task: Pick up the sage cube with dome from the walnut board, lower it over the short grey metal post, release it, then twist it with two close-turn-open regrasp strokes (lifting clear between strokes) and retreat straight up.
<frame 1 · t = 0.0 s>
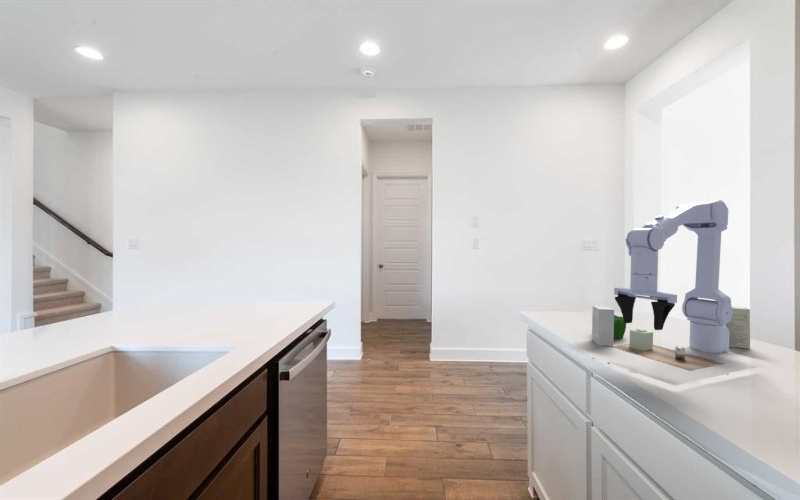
hand: (642, 326, 88), 10 cm above the counter, tool pointing down, fingers open, 7 cm apart
sage cube with dome: (640, 348, 98), point 1 cm above the counter, touching board
skincare box 2: (733, 346, 106), on the counter
bell pepper: (610, 340, 111), on the counter
board: (663, 358, 93), on the counter
post: (679, 363, 89), resting on board
skincare box: (602, 347, 104), on the counter
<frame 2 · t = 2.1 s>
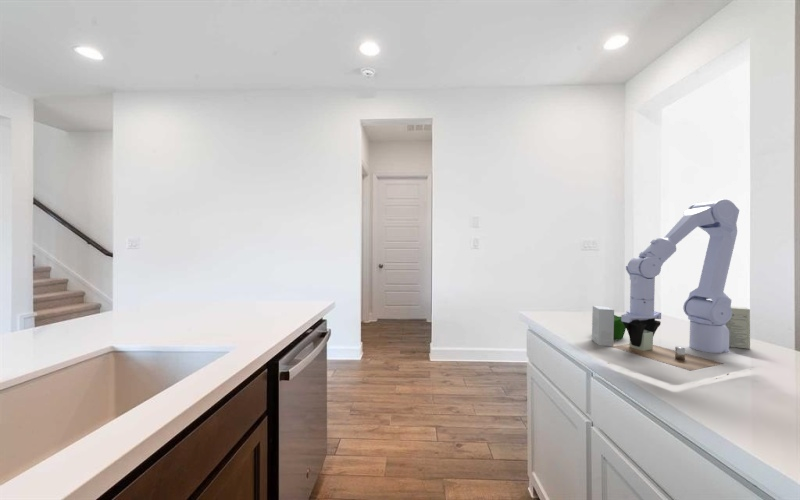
hand: (641, 345, 98), 2 cm above the counter, tool pointing down, fingers closed on sage cube with dome, 4 cm apart
sage cube with dome: (640, 348, 98), point 1 cm above the counter, touching board, gripper
everything else where it was.
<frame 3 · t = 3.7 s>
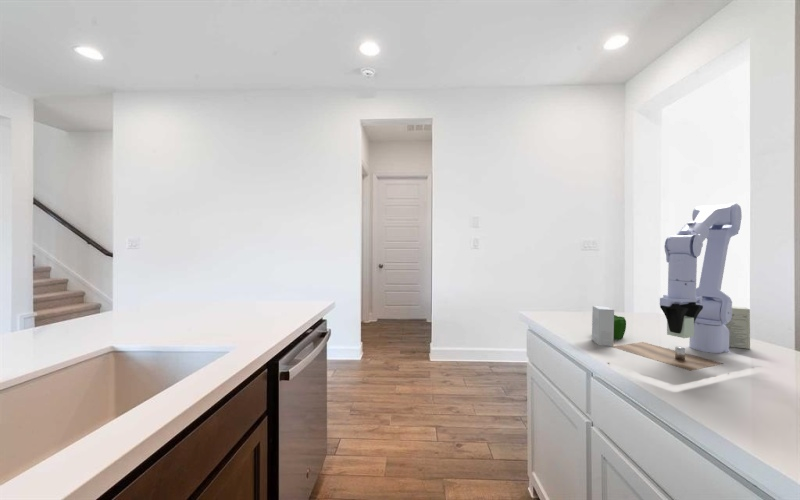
hand: (680, 331, 89), 8 cm above the counter, tool pointing down, fingers closed on sage cube with dome, 4 cm apart
sage cube with dome: (680, 335, 89), point 7 cm above the counter, touching gripper
everything else where it was.
when the fingers open (3 cm above the counter, at t = 5.3 s): sage cube with dome stays where it is, resting on board.
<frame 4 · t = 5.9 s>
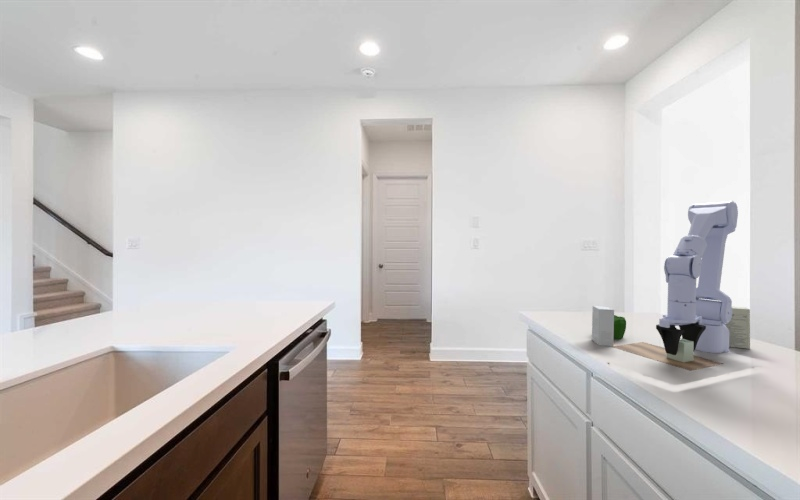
hand: (680, 352, 89), 3 cm above the counter, tool pointing down, fingers open, 7 cm apart
sage cube with dome: (679, 358, 89), point 1 cm above the counter, touching board
everything else where it was.
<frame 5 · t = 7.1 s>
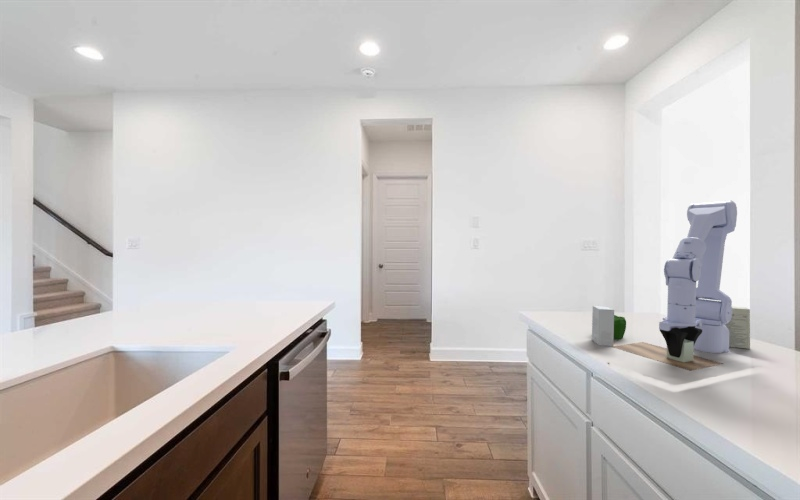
hand: (680, 355, 89), 2 cm above the counter, tool pointing down, fingers closed on sage cube with dome, 4 cm apart
sage cube with dome: (679, 358, 89), point 1 cm above the counter, touching board, gripper
everything else where it was.
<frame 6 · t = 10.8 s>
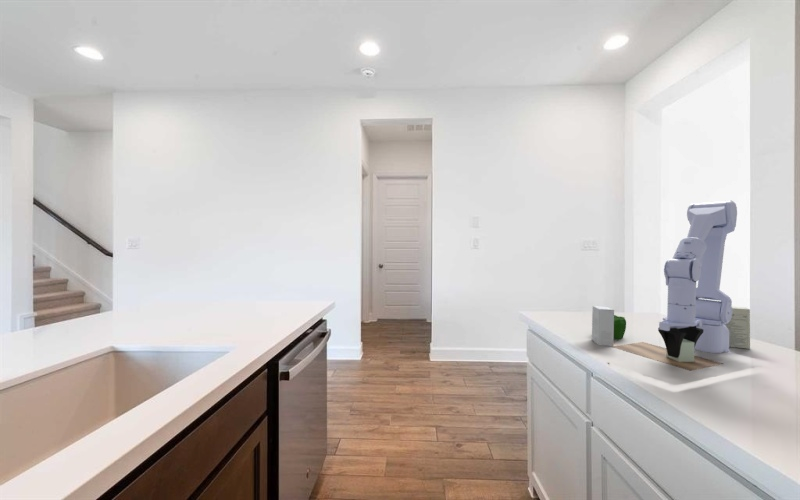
hand: (680, 355, 89), 2 cm above the counter, tool pointing down, fingers closed on sage cube with dome, 5 cm apart
sage cube with dome: (679, 359, 89), point 1 cm above the counter, touching board, gripper
everything else where it was.
when the fingers open (2 cm above the counter, at t = 12.3 s): sage cube with dome stays where it is, resting on board.
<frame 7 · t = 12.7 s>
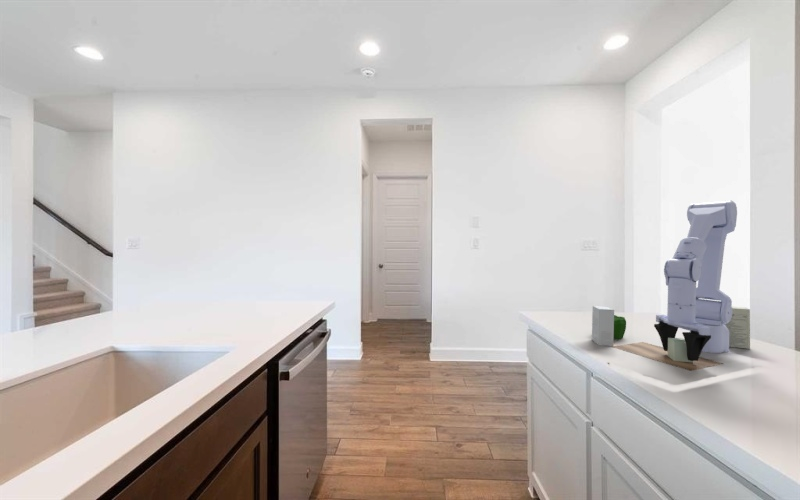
hand: (680, 355, 89), 2 cm above the counter, tool pointing down, fingers open, 7 cm apart
sage cube with dome: (679, 359, 89), point 1 cm above the counter, touching board
everything else where it was.
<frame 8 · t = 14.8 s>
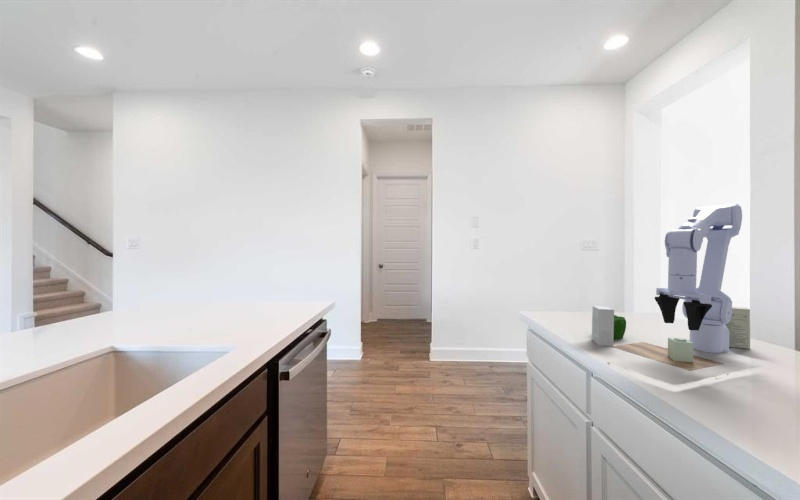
hand: (680, 326, 89), 10 cm above the counter, tool pointing down, fingers open, 7 cm apart
nothing on the counter moved.
at the end: sage cube with dome 0.0 cm from the post (horizontally); sage cube with dome point 1.2 cm above the counter; the gripper is holding nothing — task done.
